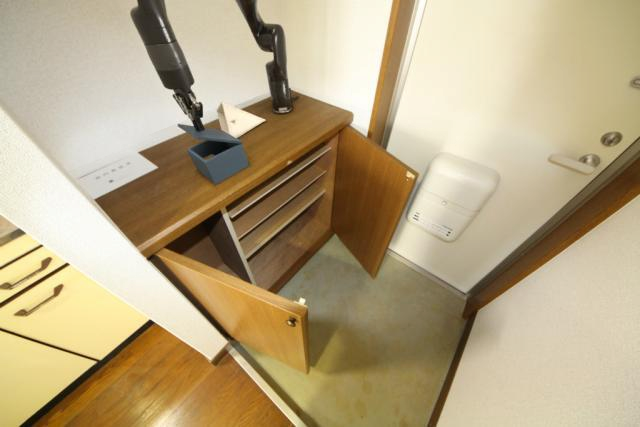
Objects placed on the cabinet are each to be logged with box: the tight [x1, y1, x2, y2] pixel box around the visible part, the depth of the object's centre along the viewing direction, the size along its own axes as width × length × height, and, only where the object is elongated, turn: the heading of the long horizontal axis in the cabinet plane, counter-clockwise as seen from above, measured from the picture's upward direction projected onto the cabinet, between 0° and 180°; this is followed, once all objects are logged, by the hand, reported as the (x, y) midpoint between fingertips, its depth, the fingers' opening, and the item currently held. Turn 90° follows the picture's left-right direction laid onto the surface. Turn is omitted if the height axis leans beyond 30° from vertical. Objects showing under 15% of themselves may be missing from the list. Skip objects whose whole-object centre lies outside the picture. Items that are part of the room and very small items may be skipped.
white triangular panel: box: [216, 101, 267, 139], centre depth 97 cm, size 15×6×20 cm
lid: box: [177, 123, 243, 145], centre depth 70 cm, size 15×12×1 cm
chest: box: [185, 140, 250, 186], centre depth 77 cm, size 14×12×9 cm
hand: (200, 130), depth 67 cm, fingers closed
